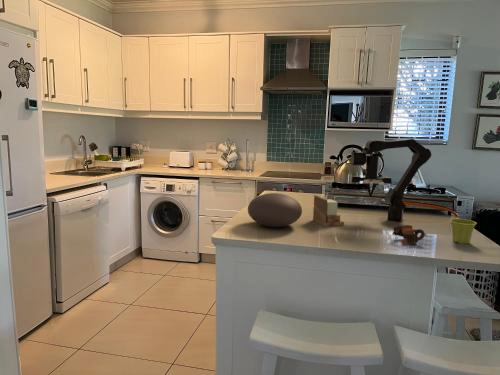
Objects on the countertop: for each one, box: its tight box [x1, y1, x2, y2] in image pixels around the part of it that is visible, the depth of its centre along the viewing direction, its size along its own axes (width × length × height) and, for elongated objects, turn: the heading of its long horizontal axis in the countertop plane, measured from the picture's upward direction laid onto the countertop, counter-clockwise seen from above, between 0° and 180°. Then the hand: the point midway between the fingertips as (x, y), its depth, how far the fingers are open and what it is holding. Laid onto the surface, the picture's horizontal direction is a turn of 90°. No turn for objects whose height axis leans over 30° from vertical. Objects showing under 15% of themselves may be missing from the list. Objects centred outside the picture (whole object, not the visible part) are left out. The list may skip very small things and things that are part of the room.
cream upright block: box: [326, 198, 338, 221], centre depth 181 cm, size 5×7×9 cm
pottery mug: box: [391, 224, 426, 246], centre depth 152 cm, size 12×10×8 cm
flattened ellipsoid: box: [247, 192, 303, 228], centre depth 173 cm, size 25×25×15 cm
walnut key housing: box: [312, 194, 345, 227], centre depth 181 cm, size 11×12×12 cm
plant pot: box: [450, 218, 477, 245], centre depth 154 cm, size 9×9×9 cm
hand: (370, 196), depth 188 cm, fingers closed
